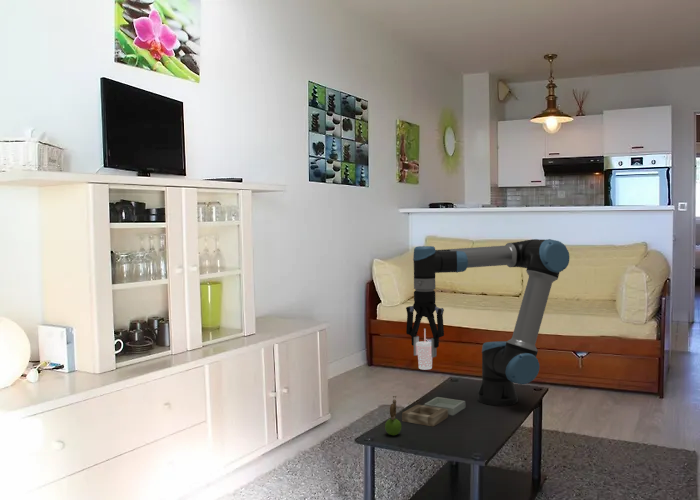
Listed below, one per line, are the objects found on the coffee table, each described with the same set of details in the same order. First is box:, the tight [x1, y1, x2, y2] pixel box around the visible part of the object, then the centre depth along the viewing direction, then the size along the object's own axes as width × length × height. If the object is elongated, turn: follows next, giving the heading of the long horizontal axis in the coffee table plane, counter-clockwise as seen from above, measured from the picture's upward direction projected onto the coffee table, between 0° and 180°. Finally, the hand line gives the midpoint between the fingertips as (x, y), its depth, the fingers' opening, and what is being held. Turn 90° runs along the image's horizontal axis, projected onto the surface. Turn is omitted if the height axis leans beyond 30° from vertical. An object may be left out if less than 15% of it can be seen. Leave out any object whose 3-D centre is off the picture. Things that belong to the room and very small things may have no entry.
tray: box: [423, 396, 466, 416], centre depth 237 cm, size 12×12×2 cm
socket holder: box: [401, 404, 449, 427], centre depth 225 cm, size 12×12×3 cm
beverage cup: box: [416, 328, 433, 371], centre depth 224 cm, size 6×6×14 cm
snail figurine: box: [384, 395, 402, 436], centre depth 209 cm, size 5×6×12 cm
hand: (425, 355), depth 224 cm, fingers closed on beverage cup, 6 cm apart
